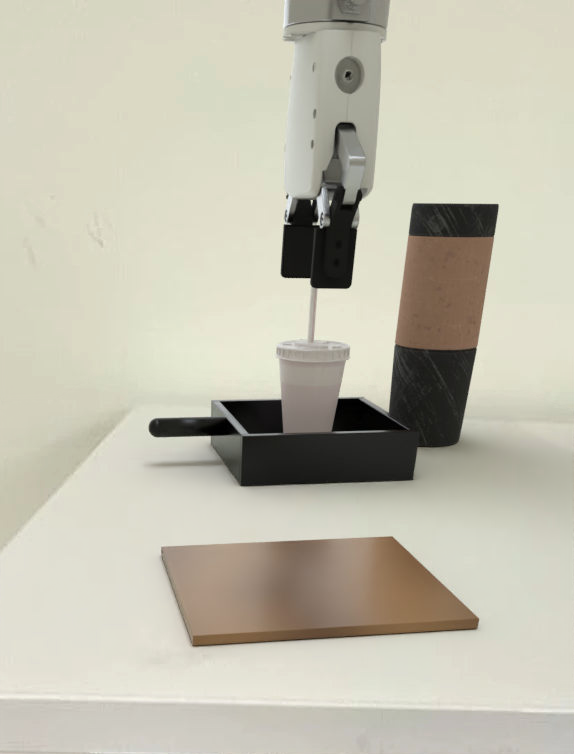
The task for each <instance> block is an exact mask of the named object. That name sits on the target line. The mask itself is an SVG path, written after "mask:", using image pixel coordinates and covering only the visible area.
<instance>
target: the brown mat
mask: <svg viewBox="0 0 574 754" xmlns="http://www.w3.org/2000/svg"><path fill="white" fill-rule="evenodd" d="M160 549H161V550H160V555H161V558H162V561H163V563H164V566H165V569H166V573H167V576H168V578H169V582H170V584H171V586H172V590H173V592H174V595H175V598H176V602H177V605H178V607H179V610H180V613H181V615H182V618H183V621H184V624H185V627H186V630H187V632H188V636H189V637H190V638H189V639H190V641H191V644H192V646H193V647H194V646H195V647H196V646H211V645H226V644H243V643H244V644H245V643H258V642H275V641H288V640H290V641H294V640H307V639H309V640H310V639H323V638H340V637H343V638H344V637H356V636H376V635H391V634H405V633H406V634H408V633H422V632H423V633H424V632H440V631H455V630H457V631H458V630H470V629H478V628H479V622H480V618H479V616H477V615H476V614H475V612H473V611H472V610H471V609H470V608H469V607H468V606H467V605H466V604H464V602H462V600H460V598H458V596H456V595H455V593H453V592H452V591H451V590H450V589H448V587H446V586H445V585H444V584H443V583H442V582H441V581H440V580H439V579H438V578H437V576H436V575H434V574H433V573H432V572H431V571H430V570H428V569H427V568H426V567H425V566H424V564H422V562H420V561H419V560H418V559H417V558H416V557H415V556H414V555H413V554H412V553H411V552H410V551H409V550H408V549H406V548H405V547H404V546H403V545H402V543H400V541H398V540H397V539H396V538H395V537H394V536H392V535H389V536H369V537H344V538H343V537H342V538H326V539H325V538H323V539H321V538H320V539H302V540H301V539H300V540H298V539H297V540H278V541H258V542H257V541H256V542H236V543H234V542H233V543H232V542H231V543H212V544H209V543H208V544H189V545H169V546H167V545H166V546H160Z"/></svg>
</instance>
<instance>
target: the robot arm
mask: <svg viewBox="0 0 574 754" xmlns="http://www.w3.org/2000/svg"><path fill="white" fill-rule="evenodd" d="M390 8H391V0H284V8H283V9H284V10H283V22H282V40H283V42H285V43H288V44H293V45H294V49H293V57H292V65H291V72H290V73H291V74H290V76H289V80H290V81H289V82H290V84H289V93H288V102H287V103H288V104H287V115H286V124H285V125H286V126H285V142H284V156H283V188H284V191H285V192H286V195H285V199H286V205H285V209H284V214H283V215H284V216H283V220H284V221H283V222H284V224H283V226H282V227H283V229H282V242H281V243H282V245H281V259H280V276H281V277H282V278H284V279H310V280H309V285H310V287H313V288H316V289H317V290H318V289H320V290H321V289H322V290H325V289H326V290H327V289H328V290H329V289H330V290H348V289H350V288H351V286H352V284H353V275H354V267H355V266H354V265H355V257H356V256H355V255H356V246H357V238H358V237H357V236H358V227H359V224H360V208H359V206H360V204H361V201H362V200H365V199H366V198H367V197H368V196H369V195H370V194H371V192H372V190H373V189H374V183H375V182H374V181H375V174H376V173H375V172H376V159H377V148H378V147H377V146H378V134H379V133H378V132H379V121H380V120H379V118H380V105H381V86H382V85H381V84H382V83H381V81H382V44H383V43H385V42H386V41H387V35H388V24H389V17H390Z"/></svg>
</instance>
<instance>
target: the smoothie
mask: <svg viewBox="0 0 574 754" xmlns="http://www.w3.org/2000/svg"><path fill="white" fill-rule="evenodd" d="M309 296H310V297H309V311H308V323H307V325H308V327H307V339H302V338H300V339H295V340H293V339H292V340H285V341H284V340H283V341H280V342H278V343H277V344H276V347H275V348H276V350H275V358H277V359H278V363H279V364H278V365H279V382H280V383H279V384H280V399H281V401H282V418H283V433H307V432H331V431H332V426H333V421H334V416H335V412H336V407H337V402H338V397H340V392H341V386H342V382H343V377H344V371H345V366H346V362H347V361H349V360H350V358H351V356H350V353H351V346H350V345H349V344H348V343H345V342H340V341H333V340H325V339H324V340H322V339H315V330H316V316H317V300H318V289H316V288H313V287H312V286H310V295H309Z"/></svg>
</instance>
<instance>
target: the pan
mask: <svg viewBox="0 0 574 754" xmlns="http://www.w3.org/2000/svg"><path fill="white" fill-rule="evenodd" d="M147 429H148V432H149V434H150V435H151V436H152V437H154V438H157V439H158V438H181V437H182V438H187V437H189V438H190V437H191V438H193V437H210V444H211V446H212V447H213V449H214V450H215V451H216V453H217V454H218V456H219V458H220V459H221V460H222V461H223V463H224V464H225V466H226V467H227V468H228V470H229V471H230V473H231V474H232V475H233V477H234V478H235V480H236V481H237V482H238V484H239V485H240V486H241V487H247V486H249V487H250V486H275V485H276V486H277V485H301V484H302V485H304V484H329V483H331V484H332V483H333V484H334V483H357V482H359V483H360V482H385V481H386V482H387V481H388V482H390V481H412V480H414V476H415V468H416V463H417V455H418V449H419V448H418V447H419V446H418V441H419V434H420V431H418V430H417V429H415V428H413V427H412V426H410V425H408V424H407V423H405V422H403V421H402V420H400V419H398V418H397V417H395V416H394V415H392V414H390V413H389V411H387V410H385V409H383V408H382V407H381V406H380V405H377V404H376V403H374V402H373V401H371V400H368V399H367V398H365V396H343V397H341V396H339V397H338V402H337V407H336V412H335V416H334V421H333V426H332V431H331V432H307V433H283V418H282V401H281V398H246V399H244V398H243V399H239V398H237V399H211V401H210V416H187V417H186V416H184V417H181V416H179V417H155V418H153V419H151V420H150V421H149V423H148V428H147Z"/></svg>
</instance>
